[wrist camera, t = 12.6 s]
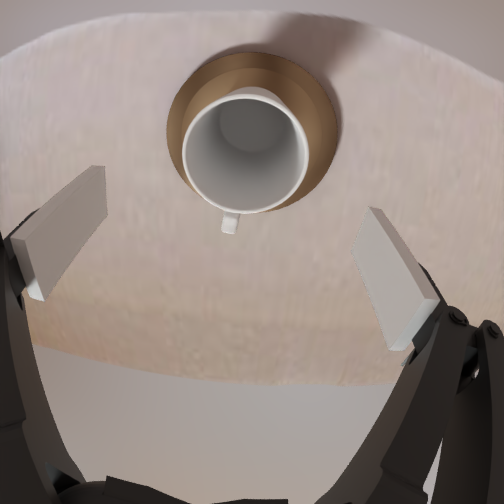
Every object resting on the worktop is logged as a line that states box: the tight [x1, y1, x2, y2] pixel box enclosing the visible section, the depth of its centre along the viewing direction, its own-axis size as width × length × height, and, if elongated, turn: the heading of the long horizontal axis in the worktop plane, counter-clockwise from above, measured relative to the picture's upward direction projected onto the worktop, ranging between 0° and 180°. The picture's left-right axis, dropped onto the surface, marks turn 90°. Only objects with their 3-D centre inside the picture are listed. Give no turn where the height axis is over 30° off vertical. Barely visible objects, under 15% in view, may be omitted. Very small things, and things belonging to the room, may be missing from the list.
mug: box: [182, 87, 309, 234], centre depth 21 cm, size 10×7×12 cm, turn 167°
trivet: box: [167, 52, 337, 213], centre depth 26 cm, size 16×16×1 cm
